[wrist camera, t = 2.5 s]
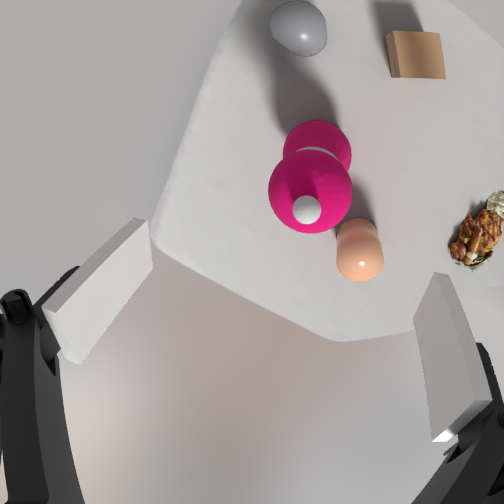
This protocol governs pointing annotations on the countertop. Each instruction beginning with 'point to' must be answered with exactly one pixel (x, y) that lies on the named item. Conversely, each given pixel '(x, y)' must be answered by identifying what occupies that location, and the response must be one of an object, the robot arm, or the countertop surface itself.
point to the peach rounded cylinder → (359, 250)
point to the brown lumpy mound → (479, 234)
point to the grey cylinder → (299, 28)
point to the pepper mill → (312, 178)
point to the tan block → (415, 55)
